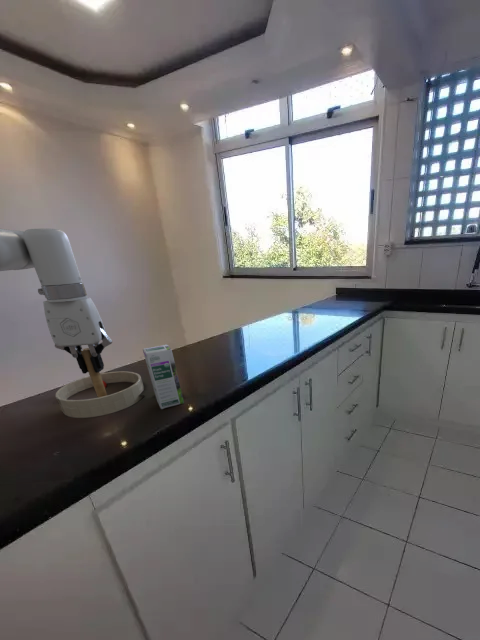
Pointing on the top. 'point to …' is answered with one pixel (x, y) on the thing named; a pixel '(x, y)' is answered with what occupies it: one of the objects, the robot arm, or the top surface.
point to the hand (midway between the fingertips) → (93, 370)
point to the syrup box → (163, 375)
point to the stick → (93, 374)
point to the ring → (102, 403)
